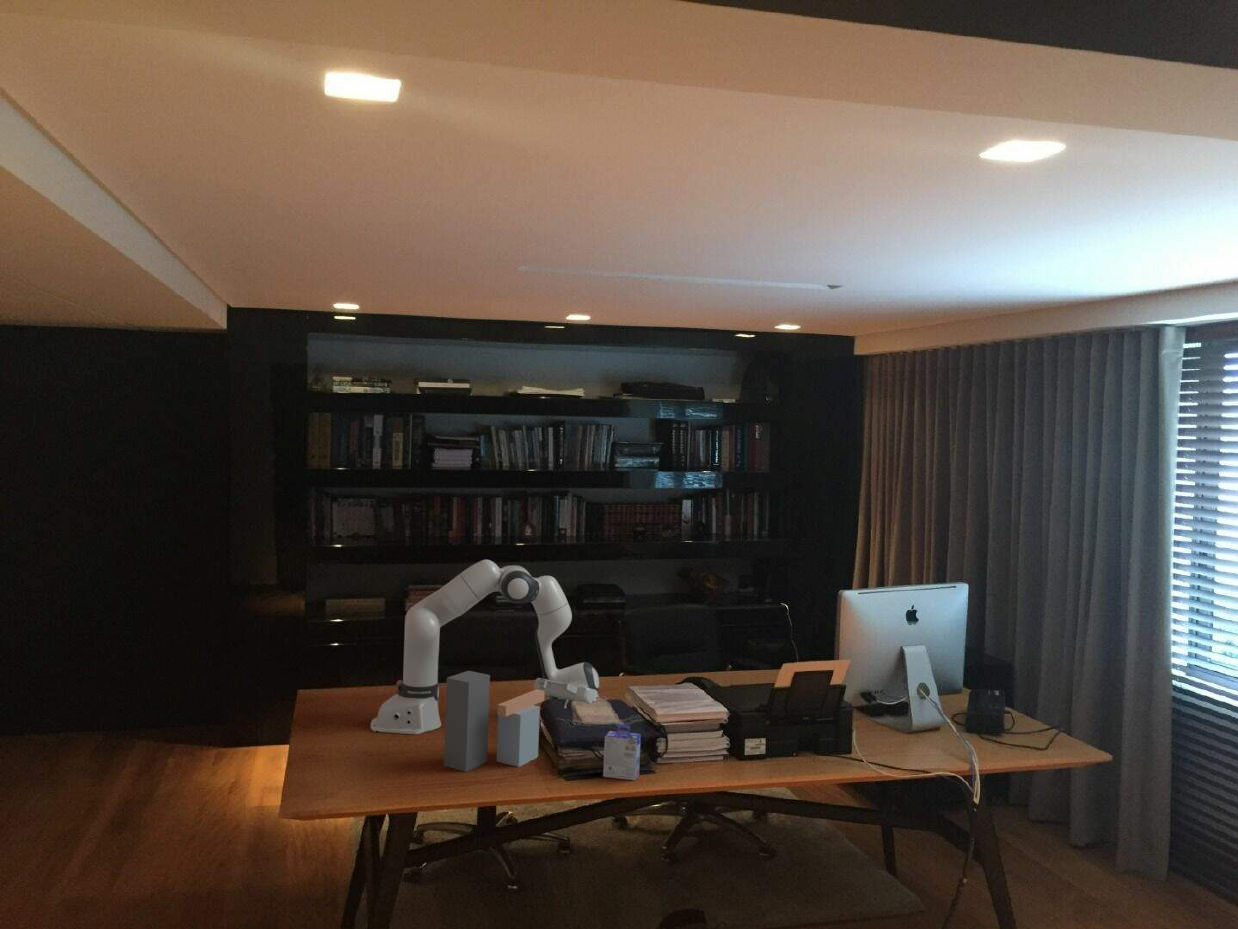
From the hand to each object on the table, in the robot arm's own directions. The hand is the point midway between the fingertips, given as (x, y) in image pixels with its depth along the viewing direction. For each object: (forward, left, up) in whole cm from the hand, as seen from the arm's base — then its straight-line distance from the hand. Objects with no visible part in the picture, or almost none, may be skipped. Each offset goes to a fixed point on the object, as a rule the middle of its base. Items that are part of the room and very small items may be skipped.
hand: (553, 683), depth 310 cm
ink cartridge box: (+20, -28, -19) cm, 39 cm away
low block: (-10, -15, -19) cm, 26 cm away
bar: (-10, -14, -4) cm, 17 cm away
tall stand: (-25, -19, -19) cm, 37 cm away
